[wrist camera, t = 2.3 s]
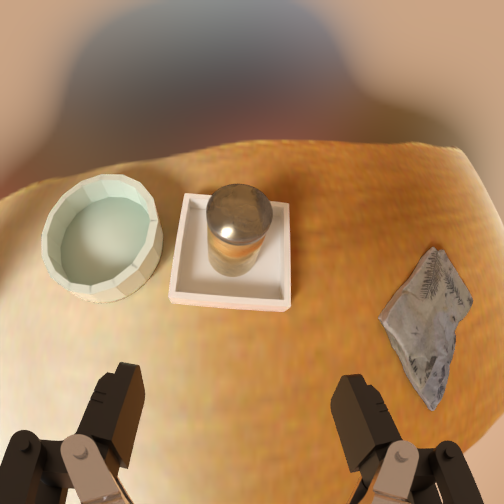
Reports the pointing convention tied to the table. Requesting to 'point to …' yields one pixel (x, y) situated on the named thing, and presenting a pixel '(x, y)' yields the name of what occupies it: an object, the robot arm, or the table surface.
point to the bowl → (103, 238)
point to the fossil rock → (427, 323)
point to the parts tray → (223, 287)
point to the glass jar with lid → (236, 228)
